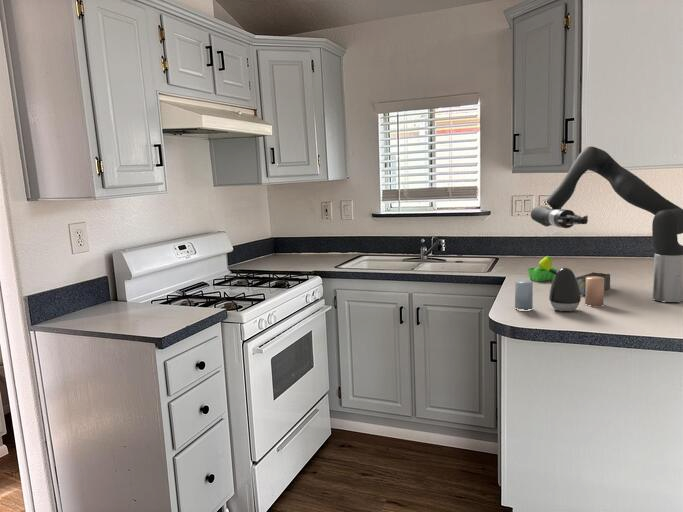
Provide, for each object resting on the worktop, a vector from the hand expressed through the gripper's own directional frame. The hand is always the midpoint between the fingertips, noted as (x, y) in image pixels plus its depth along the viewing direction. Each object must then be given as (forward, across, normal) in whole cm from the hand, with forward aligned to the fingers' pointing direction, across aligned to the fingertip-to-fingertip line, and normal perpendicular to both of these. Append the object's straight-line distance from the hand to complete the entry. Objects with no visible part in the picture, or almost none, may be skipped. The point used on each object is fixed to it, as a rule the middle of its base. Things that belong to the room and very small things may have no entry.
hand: (585, 221), depth 198 cm
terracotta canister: (+13, -4, +29) cm, 32 cm away
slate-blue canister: (+12, -30, +29) cm, 44 cm away
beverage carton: (-8, +6, +30) cm, 31 cm away
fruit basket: (-33, 0, +29) cm, 44 cm away
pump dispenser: (+17, -17, +30) cm, 38 cm away
